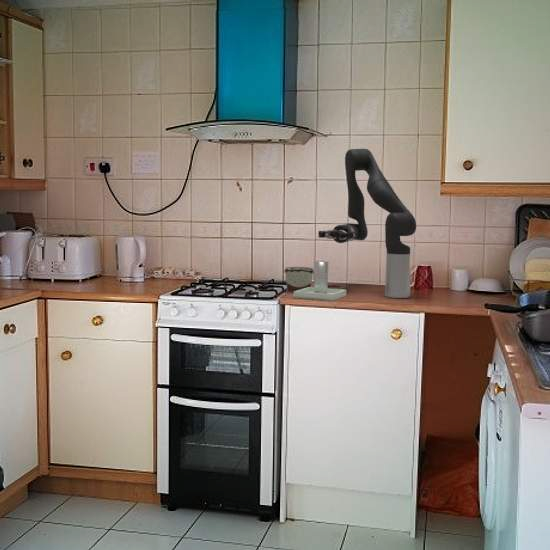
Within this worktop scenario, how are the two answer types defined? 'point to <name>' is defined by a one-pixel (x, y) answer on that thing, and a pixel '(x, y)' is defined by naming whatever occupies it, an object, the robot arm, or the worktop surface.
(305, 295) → the tray
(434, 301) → the worktop surface
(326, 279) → the grey metallic cylinder
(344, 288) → the socket block
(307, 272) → the food container
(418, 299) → the worktop surface
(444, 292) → the worktop surface
